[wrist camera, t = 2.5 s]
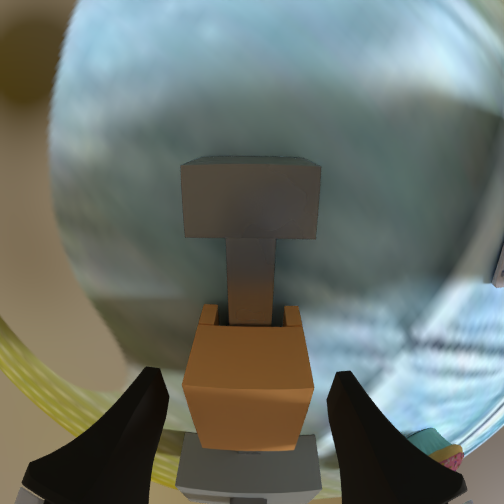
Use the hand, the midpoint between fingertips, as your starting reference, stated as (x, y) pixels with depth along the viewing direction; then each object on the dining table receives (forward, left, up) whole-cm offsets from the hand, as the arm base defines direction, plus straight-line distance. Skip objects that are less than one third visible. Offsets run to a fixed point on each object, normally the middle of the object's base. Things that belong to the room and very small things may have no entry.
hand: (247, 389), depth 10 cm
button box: (+13, 0, -3) cm, 14 cm away
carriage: (0, 0, -3) cm, 3 cm away
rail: (+2, 0, -3) cm, 3 cm away
